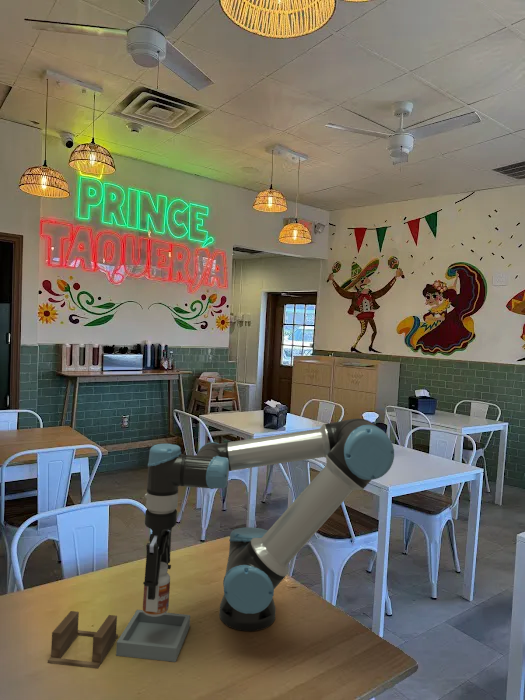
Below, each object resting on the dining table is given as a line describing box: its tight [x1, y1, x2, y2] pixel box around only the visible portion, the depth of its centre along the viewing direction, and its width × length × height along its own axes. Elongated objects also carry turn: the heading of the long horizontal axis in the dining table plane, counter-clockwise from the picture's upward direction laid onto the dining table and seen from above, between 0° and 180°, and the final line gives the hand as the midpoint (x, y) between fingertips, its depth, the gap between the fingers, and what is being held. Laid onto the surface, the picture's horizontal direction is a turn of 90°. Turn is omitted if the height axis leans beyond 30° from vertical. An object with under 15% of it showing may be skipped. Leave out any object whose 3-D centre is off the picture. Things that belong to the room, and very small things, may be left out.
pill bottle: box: [142, 562, 171, 617], centre depth 120 cm, size 6×6×11 cm
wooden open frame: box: [47, 610, 119, 669], centre depth 115 cm, size 12×12×6 cm
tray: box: [115, 609, 191, 663], centre depth 120 cm, size 14×14×3 cm
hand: (156, 603), depth 120 cm, fingers closed on pill bottle, 6 cm apart
